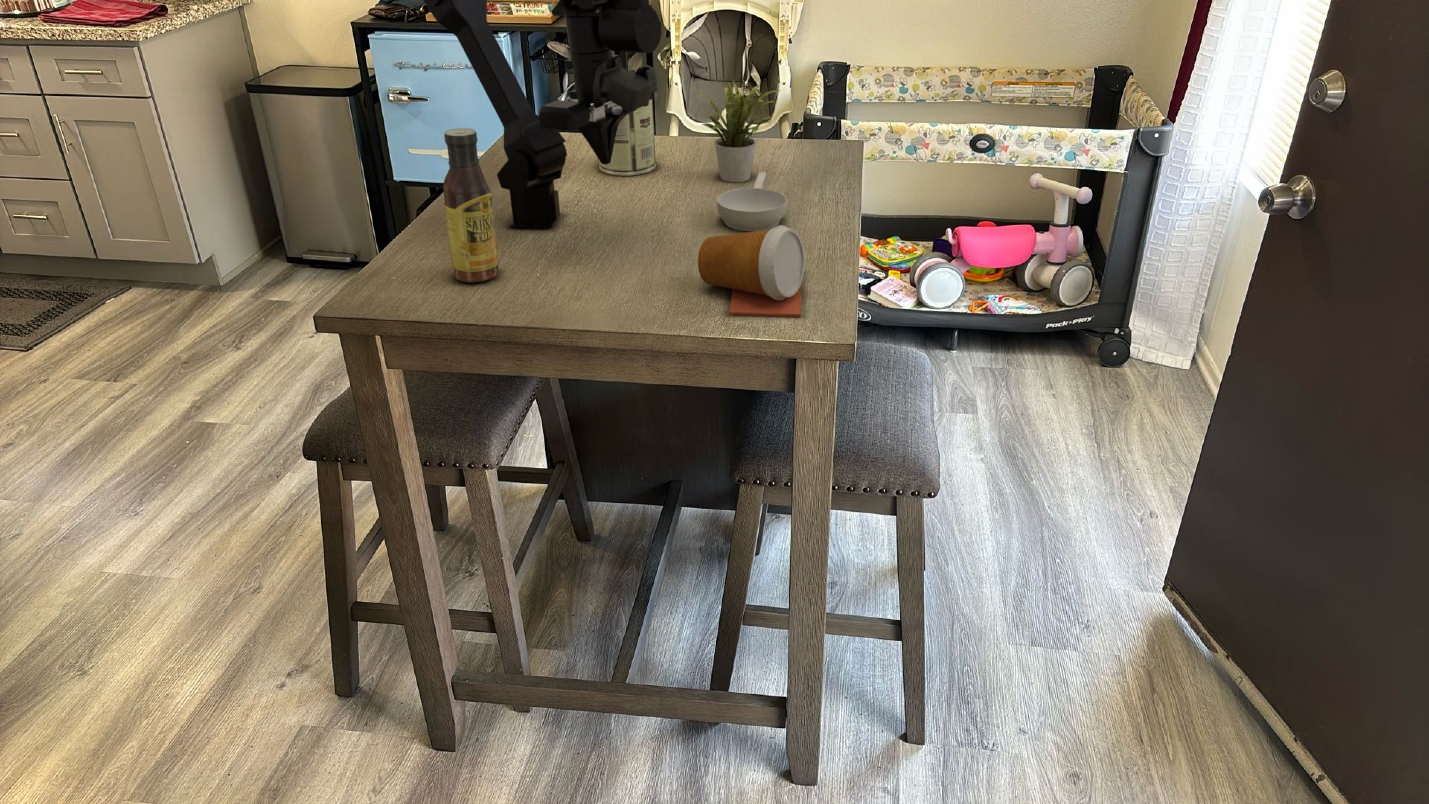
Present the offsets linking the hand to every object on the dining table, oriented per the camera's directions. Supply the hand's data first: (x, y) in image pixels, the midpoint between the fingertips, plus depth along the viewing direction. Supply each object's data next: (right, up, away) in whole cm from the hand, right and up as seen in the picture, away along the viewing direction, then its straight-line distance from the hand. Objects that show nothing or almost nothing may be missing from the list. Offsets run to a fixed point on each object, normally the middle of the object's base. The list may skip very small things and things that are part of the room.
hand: (606, 163), depth 141 cm
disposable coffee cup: (+15, -15, -9) cm, 23 cm away
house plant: (+20, +5, +30) cm, 37 cm away
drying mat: (+22, -20, -10) cm, 32 cm away
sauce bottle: (-17, -17, -5) cm, 25 cm away
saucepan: (+22, -4, +15) cm, 27 cm away
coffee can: (0, +8, +36) cm, 37 cm away
